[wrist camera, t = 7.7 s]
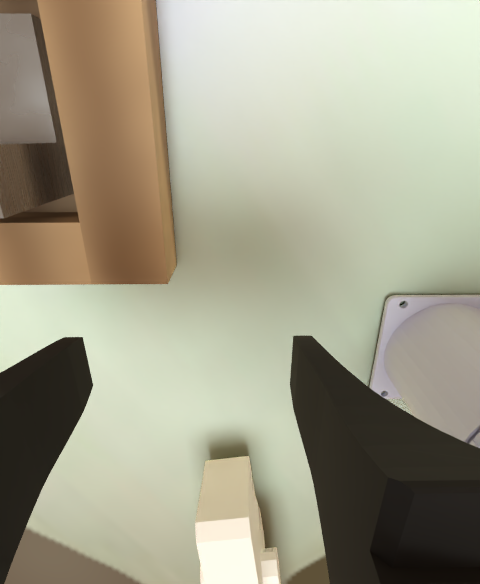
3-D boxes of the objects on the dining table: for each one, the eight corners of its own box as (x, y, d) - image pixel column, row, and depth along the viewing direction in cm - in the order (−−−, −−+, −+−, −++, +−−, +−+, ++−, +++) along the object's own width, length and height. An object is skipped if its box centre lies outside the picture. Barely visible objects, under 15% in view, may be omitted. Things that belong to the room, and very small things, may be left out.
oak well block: (147, -99, 14) (127, -155, 12) (176, 264, 21) (167, 283, 18) (-194, -101, 14) (-296, -158, 12) (-57, 265, 21) (-101, 285, 18)
